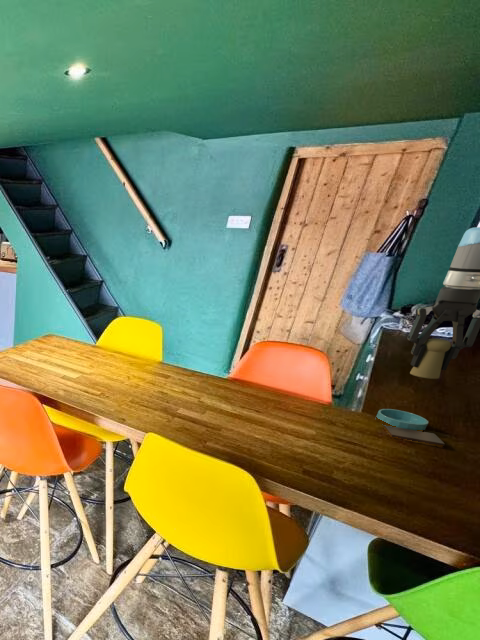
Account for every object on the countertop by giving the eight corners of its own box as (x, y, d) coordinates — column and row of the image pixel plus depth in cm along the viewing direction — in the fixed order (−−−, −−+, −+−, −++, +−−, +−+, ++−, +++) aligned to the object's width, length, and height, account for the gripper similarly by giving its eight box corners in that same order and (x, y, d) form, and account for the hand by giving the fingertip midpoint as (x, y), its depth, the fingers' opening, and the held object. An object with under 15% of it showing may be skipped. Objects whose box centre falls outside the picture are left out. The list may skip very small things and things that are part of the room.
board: (432, 437, 120) (434, 433, 119) (442, 448, 114) (445, 443, 113) (382, 429, 125) (384, 425, 124) (390, 439, 119) (392, 434, 118)
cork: (408, 374, 120) (423, 339, 116) (410, 370, 124) (425, 335, 120) (438, 380, 116) (455, 343, 112) (439, 375, 119) (455, 339, 115)
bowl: (416, 421, 129) (419, 413, 128) (430, 436, 120) (435, 427, 119) (370, 414, 134) (373, 406, 133) (381, 428, 125) (385, 419, 124)
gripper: (421, 286, 112) (389, 365, 120) (520, 291, 103) (479, 376, 111) (411, 283, 118) (382, 359, 126) (504, 287, 109) (466, 368, 117)
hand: (427, 367), depth 119 cm, fingers closed on cork, 5 cm apart
